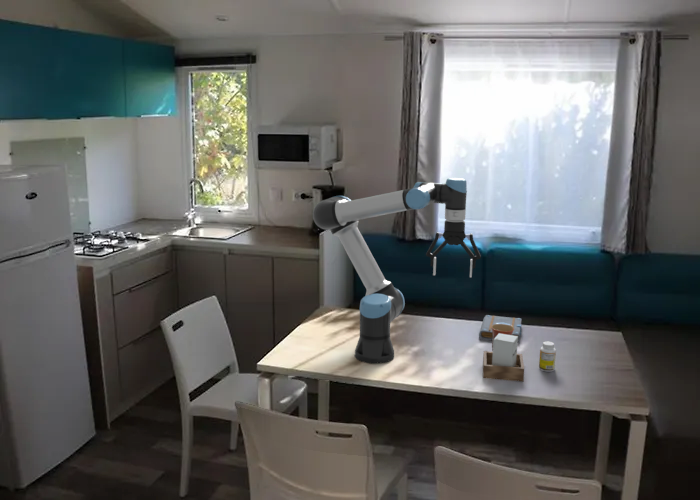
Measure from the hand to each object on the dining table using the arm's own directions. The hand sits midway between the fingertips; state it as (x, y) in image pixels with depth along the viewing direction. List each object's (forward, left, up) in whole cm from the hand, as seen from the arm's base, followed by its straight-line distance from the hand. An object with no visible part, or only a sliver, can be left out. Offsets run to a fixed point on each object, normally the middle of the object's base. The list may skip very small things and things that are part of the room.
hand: (452, 275), depth 250 cm
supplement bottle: (+36, -7, -32) cm, 49 cm away
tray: (+20, -13, -32) cm, 40 cm away
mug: (+20, +5, -32) cm, 38 cm away
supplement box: (+20, -13, -31) cm, 39 cm away
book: (+20, +30, -32) cm, 48 cm away
